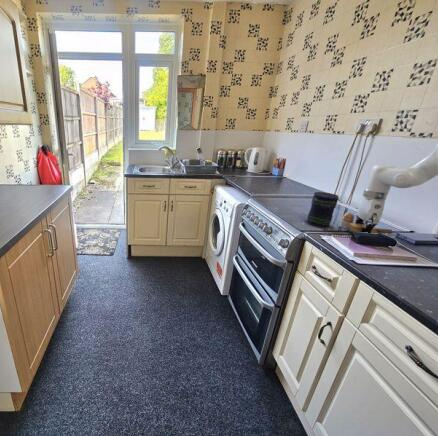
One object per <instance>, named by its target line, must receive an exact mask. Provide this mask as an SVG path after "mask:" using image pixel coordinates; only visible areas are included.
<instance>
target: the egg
mask: <svg viewBox="0 0 438 436" xmlns="http://www.w3.org/2000/svg"><path fill="white" fill-rule="evenodd" d="M355 222H356V221H355V214H353V213H351V212H346V213H344V214H343V215H342V218H339V221H338V224H337V226H338V227H340V228H342V229H346V230H348V228H347V227H348V224H349V223H355Z"/></svg>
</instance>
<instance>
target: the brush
mask: <svg viewBox="0 0 438 436" xmlns="http://www.w3.org/2000/svg"><path fill="white" fill-rule="evenodd" d="M364 225H365V223H364V224H356V223H349V224H348V227H347V228H348V229H346V230H347V232H348V234H350V235H352V234H353V232H361V231H362V228H363V227H364ZM371 232H372V233H376V234H377V233H380V234H381V233H382V234H388V235H389V234H391V235H392V234H393V232H394V231H393V230H392V229H387V228H379V227H376V226H375V227H373V229H372V231H371Z"/></svg>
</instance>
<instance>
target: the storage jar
mask: <svg viewBox="0 0 438 436" xmlns="http://www.w3.org/2000/svg"><path fill="white" fill-rule="evenodd" d="M339 197H340V195H338V194H334V193H330V192H323V191H316V192H315V191H314V193H313V196H312V199H311V203H310V205H311V206H310V209H309V211H308V214H307V218H306V219H307V220H306V224H307V225H310V226H312V227H315V228H323V229H327V228H330V225H331V223H332V221H333V217H334V215H333V214H334V212H335V209H336V207H337V205H338V200H339Z"/></svg>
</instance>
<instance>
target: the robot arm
mask: <svg viewBox="0 0 438 436" xmlns="http://www.w3.org/2000/svg"><path fill="white" fill-rule="evenodd" d="M437 176H438V143H437V144H436V145H435V148H434V149H433V151H432V152H431V153H429V154H428V155H427V156H425V158H423V159H421V160H420V161H419V162H417V163H415V164H414V165H412V166H410V167H406V168H397V167H396V166H393V165H386V164H376V165H374V166H373V167H372V169H371V171H370V173H369V177H368V179H367V182H366V186H365V188H364V191H363V194H362V199H361V200H360V203H359V205H358V207H357V211H356V216H355V217H356V218H355V221H354V222H355V223H356V224H365V225H364V227H363V228H362V231H361V232H368V233H371V231H372V229H373V227H375V228H376V226H378V224H379V223H380V221H381V219H382V216H383V213H384V208H385V204H386V200H387V197H388V195H389V192H390V189H391V187H394V188H397V189H408V188H414V187H418V186H421V185H423V184H425V183H426V182H428V181H431V180H432V179H434V178H436V177H437Z"/></svg>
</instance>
